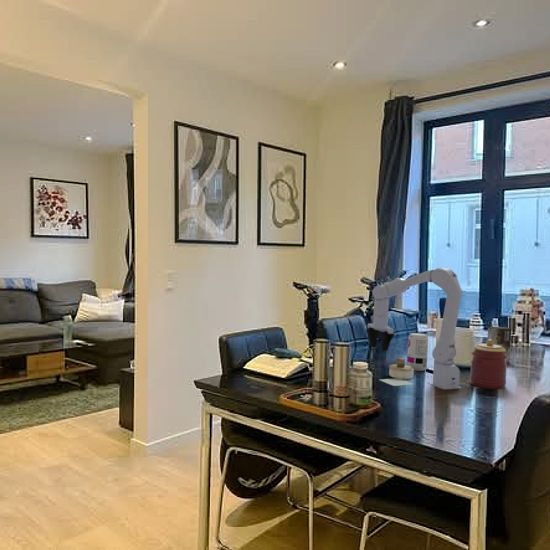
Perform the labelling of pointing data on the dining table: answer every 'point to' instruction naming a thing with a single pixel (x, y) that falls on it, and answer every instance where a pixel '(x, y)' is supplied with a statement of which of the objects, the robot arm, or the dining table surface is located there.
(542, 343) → the dining table surface
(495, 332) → the coffee box
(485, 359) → the canister
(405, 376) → the bowl
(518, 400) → the dining table surface
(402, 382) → the mat
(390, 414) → the dining table surface
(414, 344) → the supplement can
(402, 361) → the lid
